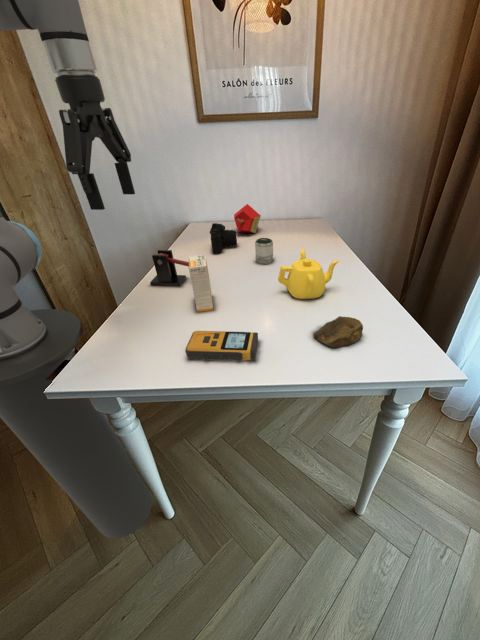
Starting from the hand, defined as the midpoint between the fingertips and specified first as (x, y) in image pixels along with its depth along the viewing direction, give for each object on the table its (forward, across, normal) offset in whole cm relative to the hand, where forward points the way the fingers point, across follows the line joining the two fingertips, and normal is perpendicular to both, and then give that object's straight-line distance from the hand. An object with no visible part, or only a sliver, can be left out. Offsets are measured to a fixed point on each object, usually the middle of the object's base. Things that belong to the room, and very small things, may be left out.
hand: (114, 201), depth 70 cm
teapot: (+29, -16, +44) cm, 55 cm away
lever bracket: (+29, -18, -1) cm, 34 cm away
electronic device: (+29, +15, +26) cm, 42 cm away
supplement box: (+29, -5, +15) cm, 33 cm away
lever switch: (+23, -18, +4) cm, 30 cm away
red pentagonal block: (+29, -69, +16) cm, 76 cm away
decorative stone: (+29, +7, +52) cm, 60 cm away
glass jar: (+29, -37, +28) cm, 55 cm away
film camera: (+29, -50, +10) cm, 59 cm away
